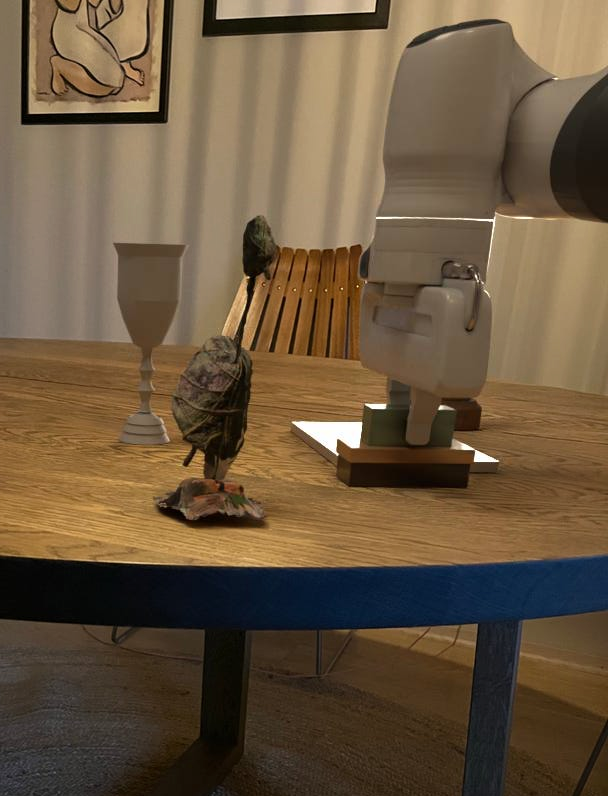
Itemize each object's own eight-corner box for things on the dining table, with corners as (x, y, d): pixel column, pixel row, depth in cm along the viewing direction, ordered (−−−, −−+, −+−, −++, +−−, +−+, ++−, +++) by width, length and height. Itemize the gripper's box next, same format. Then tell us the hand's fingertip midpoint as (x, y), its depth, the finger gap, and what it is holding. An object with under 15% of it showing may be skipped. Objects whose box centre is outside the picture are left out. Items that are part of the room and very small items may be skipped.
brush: (450, 476, 89) (461, 403, 86) (470, 488, 85) (482, 412, 82) (332, 475, 88) (340, 401, 86) (346, 487, 84) (355, 410, 82)
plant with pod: (253, 493, 81) (273, 218, 74) (273, 531, 70) (299, 214, 63) (150, 490, 81) (160, 214, 73) (154, 528, 70) (166, 210, 63)
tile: (419, 433, 109) (421, 423, 109) (497, 472, 91) (499, 461, 90) (290, 431, 108) (291, 421, 108) (342, 471, 90) (343, 460, 89)
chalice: (145, 449, 97) (152, 243, 90) (93, 439, 101) (96, 242, 94) (194, 440, 102) (204, 245, 95) (143, 431, 106) (149, 243, 99)
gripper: (527, 264, 71) (495, 465, 76) (423, 259, 90) (404, 419, 95) (437, 262, 70) (412, 464, 75) (352, 257, 89) (336, 418, 94)
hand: (406, 439), depth 85 cm, fingers closed on brush, 2 cm apart
